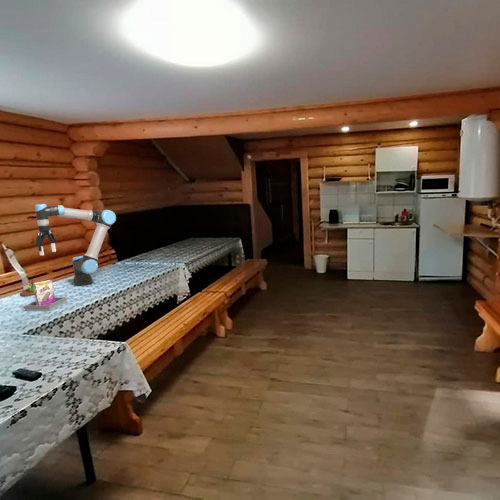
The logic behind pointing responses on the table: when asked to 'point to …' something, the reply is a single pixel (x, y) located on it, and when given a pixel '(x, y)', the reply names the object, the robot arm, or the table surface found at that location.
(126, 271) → the table surface
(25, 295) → the plant
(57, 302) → the holder
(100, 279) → the table surface
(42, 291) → the candy bar box
